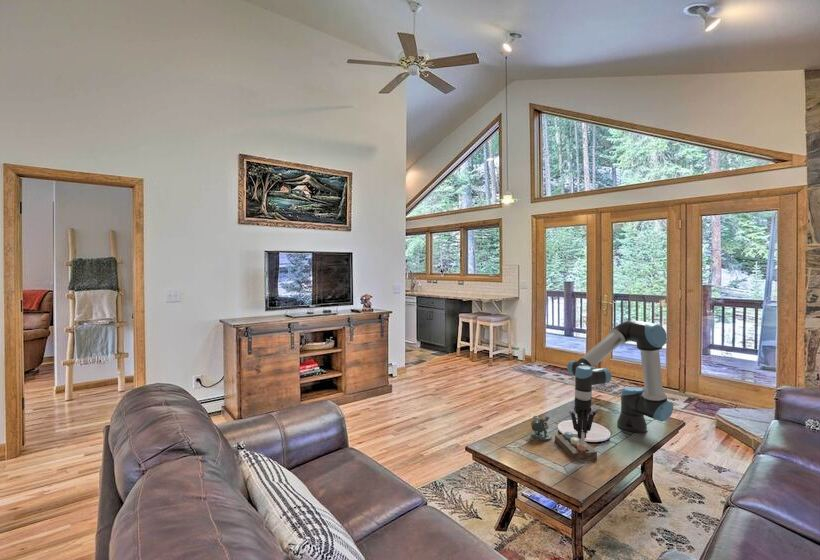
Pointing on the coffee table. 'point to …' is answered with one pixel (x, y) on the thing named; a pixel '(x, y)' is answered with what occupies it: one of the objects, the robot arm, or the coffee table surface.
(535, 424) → the figurine
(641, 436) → the coffee table surface
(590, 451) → the button board
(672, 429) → the coffee table surface
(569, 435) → the button slate
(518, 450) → the coffee table surface
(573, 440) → the button cream
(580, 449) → the button terracotta
